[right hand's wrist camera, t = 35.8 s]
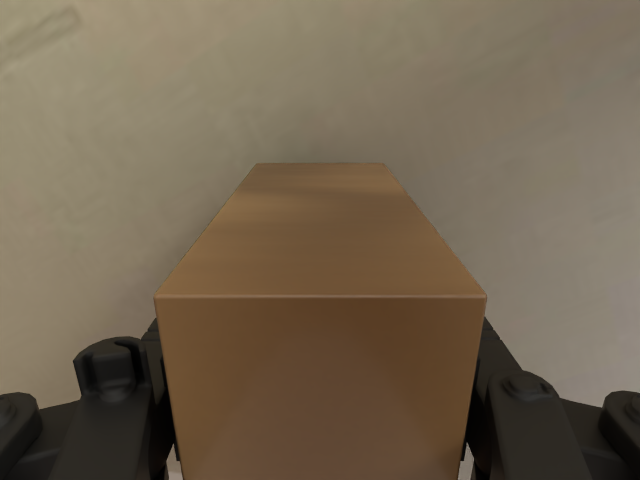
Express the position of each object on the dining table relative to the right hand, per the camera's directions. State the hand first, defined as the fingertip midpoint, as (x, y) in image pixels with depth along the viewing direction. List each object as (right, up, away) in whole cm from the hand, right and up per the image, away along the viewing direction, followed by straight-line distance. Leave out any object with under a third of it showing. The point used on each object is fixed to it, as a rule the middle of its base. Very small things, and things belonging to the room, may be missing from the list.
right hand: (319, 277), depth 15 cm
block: (0, +1, +2) cm, 3 cm away
